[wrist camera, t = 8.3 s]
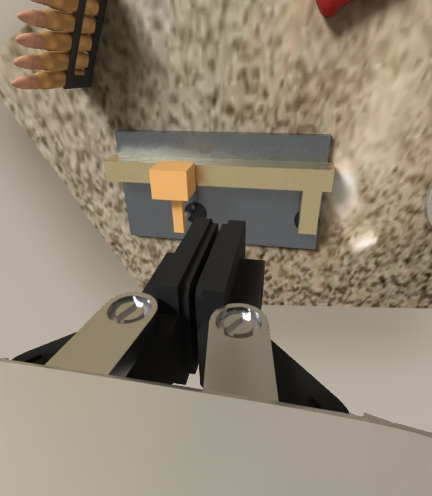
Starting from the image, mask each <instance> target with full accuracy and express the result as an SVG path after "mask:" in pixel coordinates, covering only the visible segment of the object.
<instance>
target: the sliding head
mask: <svg viewBox="0 0 432 496" xmlns="http://www.w3.org/2000/svg"><path fill="white" fill-rule="evenodd" d="M149 176H150V184H151V193H152V199H159V200H171V201H172V213H173V224H174V232H178V233H184V232H185V230H186V221H187V220H188V218H189V216H190V212H188V211H187V212H186V213H185V206H184V201H188V200H189V199H190V198H191V196H192V195H193V193H194V192H195V190H196V180H195V162H178V161H159V162H158V163H157V164H156V165H154V166H153V167H152V168H151V169H149Z"/></svg>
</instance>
